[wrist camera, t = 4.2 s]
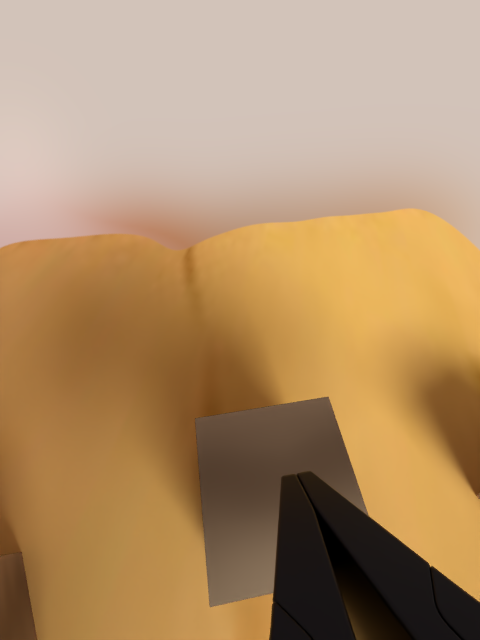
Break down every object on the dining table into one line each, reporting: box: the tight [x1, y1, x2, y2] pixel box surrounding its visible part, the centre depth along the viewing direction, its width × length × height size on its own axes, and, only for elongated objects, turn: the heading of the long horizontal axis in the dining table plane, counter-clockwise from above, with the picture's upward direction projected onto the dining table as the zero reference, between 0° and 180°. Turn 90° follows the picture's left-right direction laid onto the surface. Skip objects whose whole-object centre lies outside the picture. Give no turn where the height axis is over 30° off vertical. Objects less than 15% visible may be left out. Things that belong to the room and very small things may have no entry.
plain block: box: [195, 397, 368, 607], centre depth 15 cm, size 6×6×8 cm
